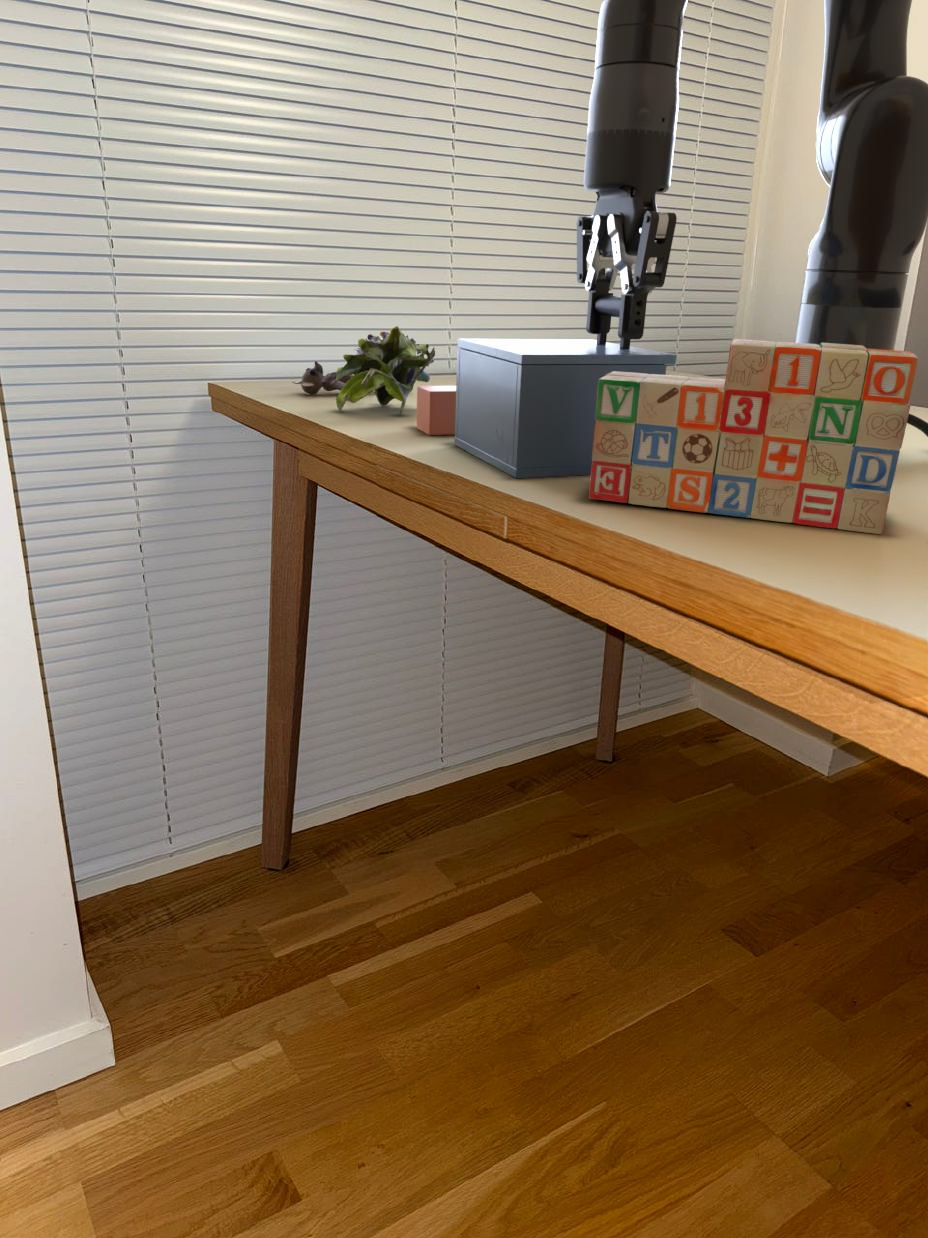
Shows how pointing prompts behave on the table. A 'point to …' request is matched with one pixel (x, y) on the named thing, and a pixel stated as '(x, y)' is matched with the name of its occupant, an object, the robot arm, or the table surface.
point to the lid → (571, 346)
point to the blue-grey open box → (530, 413)
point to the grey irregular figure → (321, 380)
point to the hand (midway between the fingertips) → (613, 335)
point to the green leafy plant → (384, 368)
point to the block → (436, 409)
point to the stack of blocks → (760, 435)
